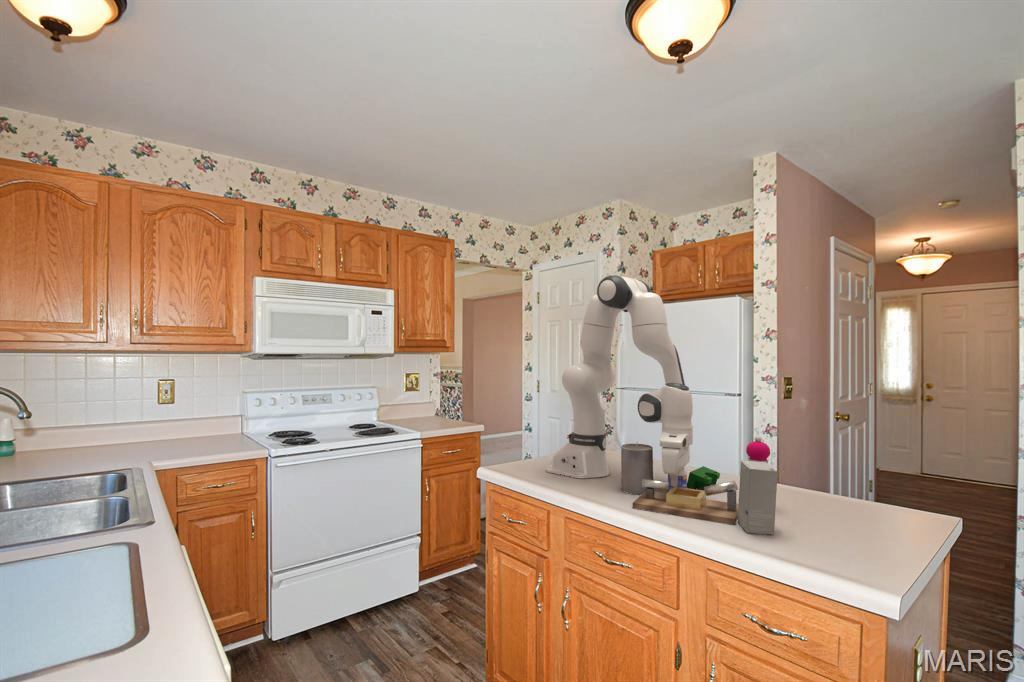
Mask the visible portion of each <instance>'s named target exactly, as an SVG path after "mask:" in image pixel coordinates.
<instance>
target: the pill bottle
mask: <svg viewBox="0 0 1024 682" xmlns="http://www.w3.org/2000/svg"><path fill="white" fill-rule="evenodd" d="M683 468H684V470H683ZM683 468H682V469H681V470H680V471H679V472H678V486H677V487H681V488H687V481H688V477H687V476H688V475H687V470H685V467H684V464H683ZM667 482H669V489H668V491H667V493H668V492H669V491H670V490H671V489H672V488H673V487H674V486H671V478H670V474H667Z"/></svg>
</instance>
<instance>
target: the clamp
mask: <svg viewBox="0 0 1024 682" xmlns="http://www.w3.org/2000/svg"><path fill="white" fill-rule="evenodd" d="M720 476H721V473H720V472H718V471H716V470H713V469H711V468H709V467H706V466H701V467H698V468H696V469H694V470H691V471H690V472H689V473H688V477H687V488H688V489H696V490H698V489H699V490H702V491H704V487H707V486H711V485H716V484H717V481H718V480H719V479H720V478H721V477H720ZM697 488H698V489H697Z"/></svg>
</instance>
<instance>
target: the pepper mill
mask: <svg viewBox="0 0 1024 682" xmlns="http://www.w3.org/2000/svg"><path fill="white" fill-rule="evenodd" d="M762 440H763V439H762V437H761V436H760V435H755V436H754V441H750V442H749V443H748V444H747V446H746V447H745V448H746V449H745V452H746V454H747V456H748V460H747V461H756V462H766V463H768V464H769V460H768V458H769V457H770V456H771V448H770V446H769V445H768V444H767V443H765V442H764V441H762Z"/></svg>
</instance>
